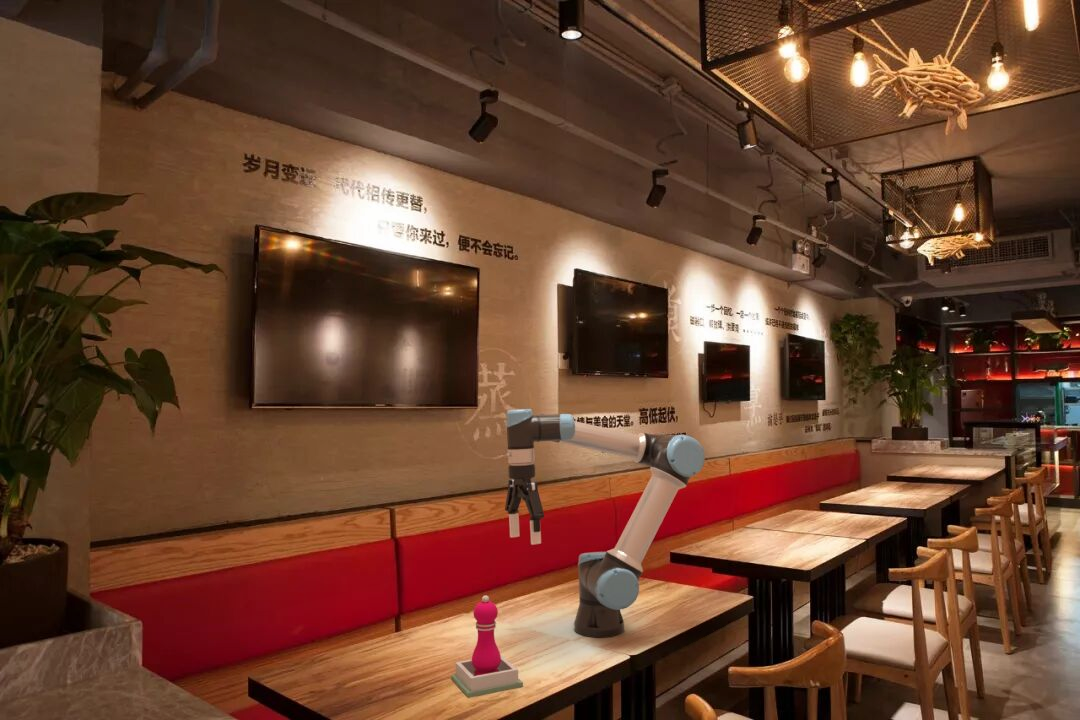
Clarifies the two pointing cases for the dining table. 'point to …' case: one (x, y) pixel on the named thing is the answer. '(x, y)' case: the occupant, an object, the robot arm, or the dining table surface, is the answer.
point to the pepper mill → (485, 639)
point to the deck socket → (485, 678)
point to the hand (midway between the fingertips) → (525, 540)
